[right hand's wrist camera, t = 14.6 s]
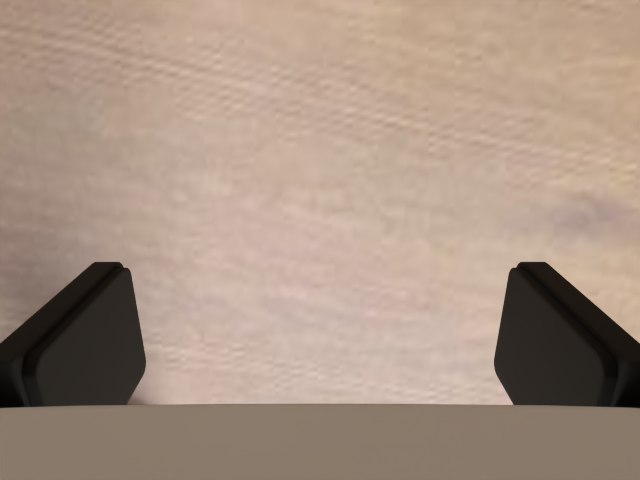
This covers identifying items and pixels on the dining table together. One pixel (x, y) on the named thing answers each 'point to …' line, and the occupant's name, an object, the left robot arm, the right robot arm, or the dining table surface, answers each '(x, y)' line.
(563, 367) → the right robot arm
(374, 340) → the dining table surface
